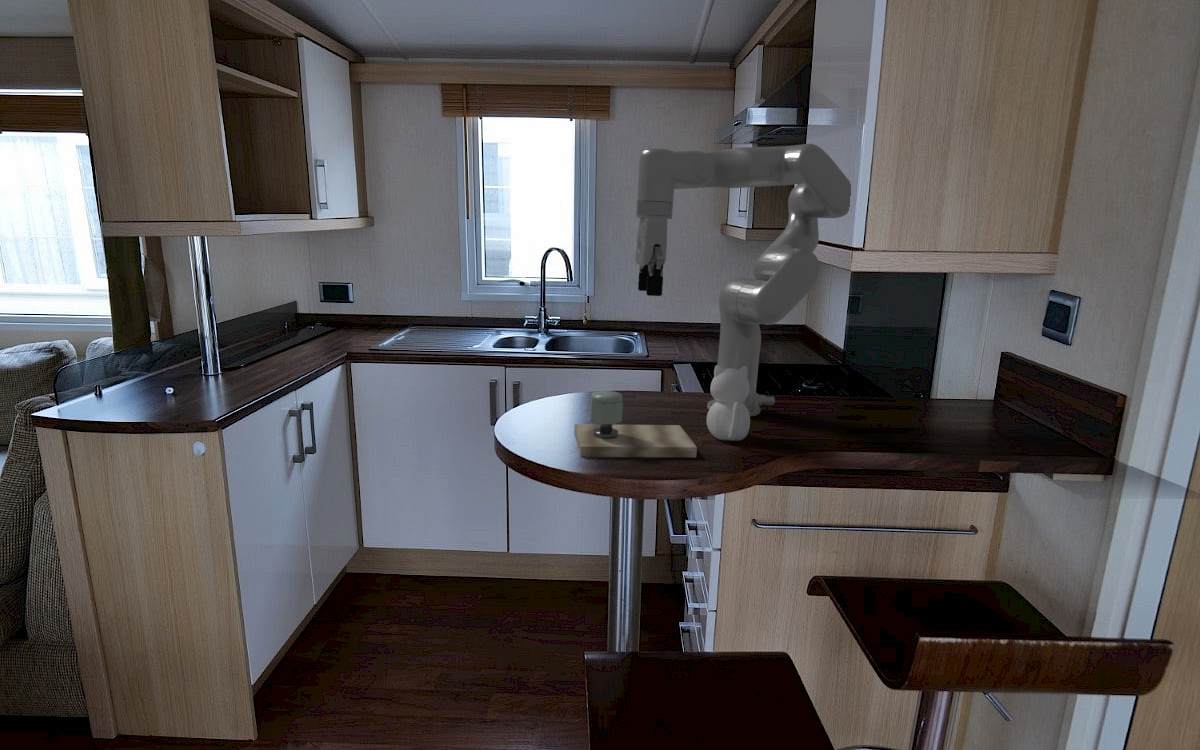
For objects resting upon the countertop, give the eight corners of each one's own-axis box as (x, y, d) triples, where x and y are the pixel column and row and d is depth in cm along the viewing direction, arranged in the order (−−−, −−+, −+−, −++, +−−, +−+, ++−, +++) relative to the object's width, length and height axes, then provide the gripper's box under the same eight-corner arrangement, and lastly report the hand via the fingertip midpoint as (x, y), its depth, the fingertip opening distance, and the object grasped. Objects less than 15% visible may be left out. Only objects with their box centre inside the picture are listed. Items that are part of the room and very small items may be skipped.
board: (678, 434, 139) (679, 425, 138) (696, 457, 125) (697, 447, 125) (574, 433, 136) (574, 424, 136) (580, 456, 123) (581, 446, 122)
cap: (603, 413, 133) (604, 389, 132) (627, 419, 129) (628, 395, 128) (583, 419, 128) (584, 394, 127) (608, 426, 125) (609, 400, 124)
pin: (616, 431, 132) (618, 396, 131) (619, 439, 128) (621, 402, 126) (592, 431, 132) (593, 396, 130) (594, 438, 127) (596, 402, 125)
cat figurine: (740, 429, 145) (746, 362, 142) (758, 447, 132) (765, 374, 129) (699, 429, 144) (705, 361, 141) (714, 447, 132) (721, 373, 129)
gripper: (630, 210, 147) (625, 288, 150) (644, 209, 130) (639, 297, 134) (663, 212, 148) (658, 289, 151) (681, 211, 131) (675, 298, 135)
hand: (649, 293), depth 143 cm, fingers open, 9 cm apart
